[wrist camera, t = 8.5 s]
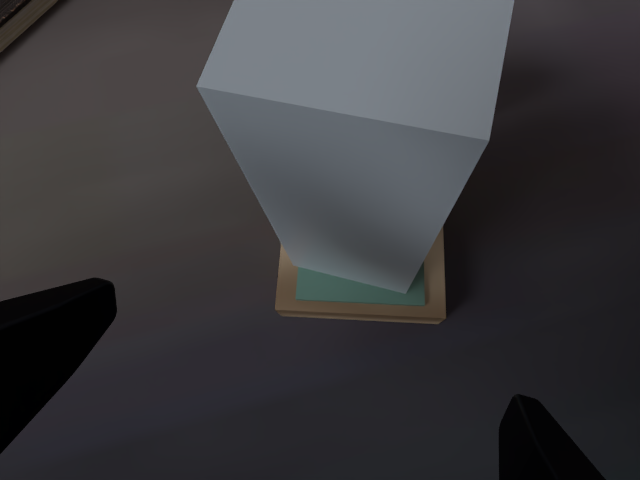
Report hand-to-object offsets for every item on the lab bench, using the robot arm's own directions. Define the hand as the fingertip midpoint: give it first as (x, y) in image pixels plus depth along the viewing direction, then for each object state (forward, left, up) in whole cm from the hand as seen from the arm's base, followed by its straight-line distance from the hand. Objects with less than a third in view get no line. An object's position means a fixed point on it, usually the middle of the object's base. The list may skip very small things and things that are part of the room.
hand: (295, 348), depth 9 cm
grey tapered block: (+6, -1, -10) cm, 12 cm away
